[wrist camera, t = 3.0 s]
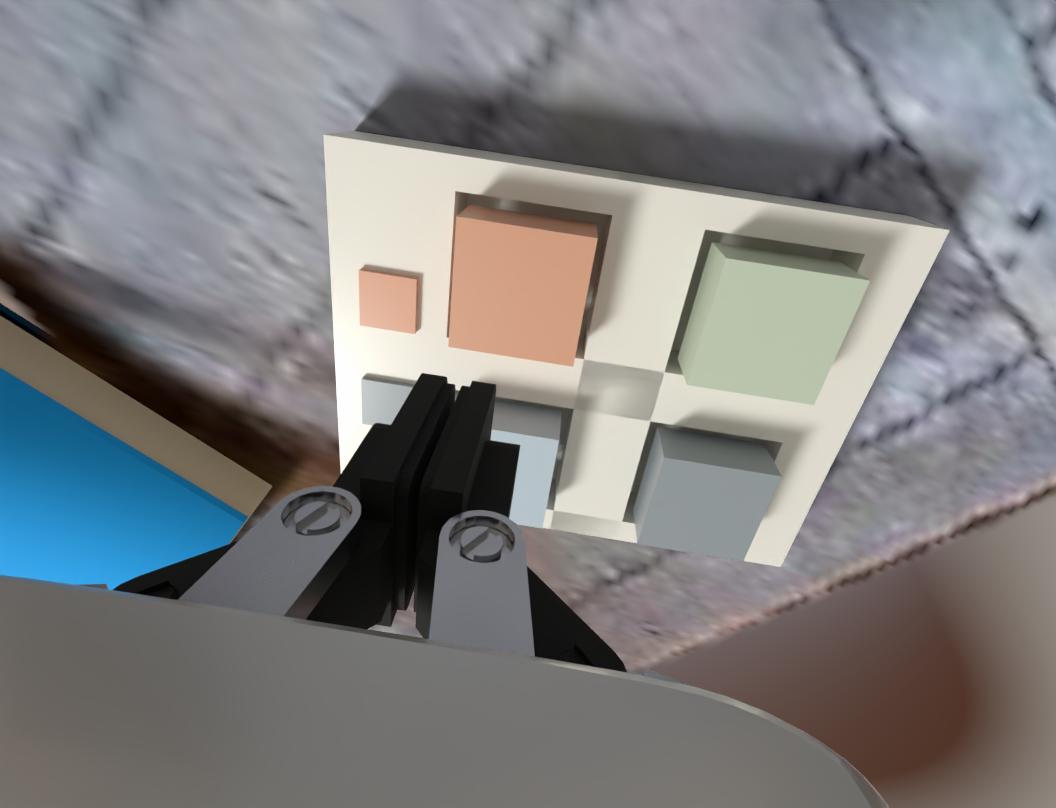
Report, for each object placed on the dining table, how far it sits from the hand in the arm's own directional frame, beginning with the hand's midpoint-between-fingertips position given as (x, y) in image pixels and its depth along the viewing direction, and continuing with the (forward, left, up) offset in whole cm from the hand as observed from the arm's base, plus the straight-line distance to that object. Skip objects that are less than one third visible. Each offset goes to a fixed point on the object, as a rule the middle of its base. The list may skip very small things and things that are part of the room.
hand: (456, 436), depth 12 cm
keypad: (-4, +4, -14) cm, 15 cm away
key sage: (-10, 0, -12) cm, 15 cm away
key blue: (0, +8, -12) cm, 14 cm away
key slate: (-10, +8, -12) cm, 17 cm away
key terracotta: (0, 0, -12) cm, 12 cm away
